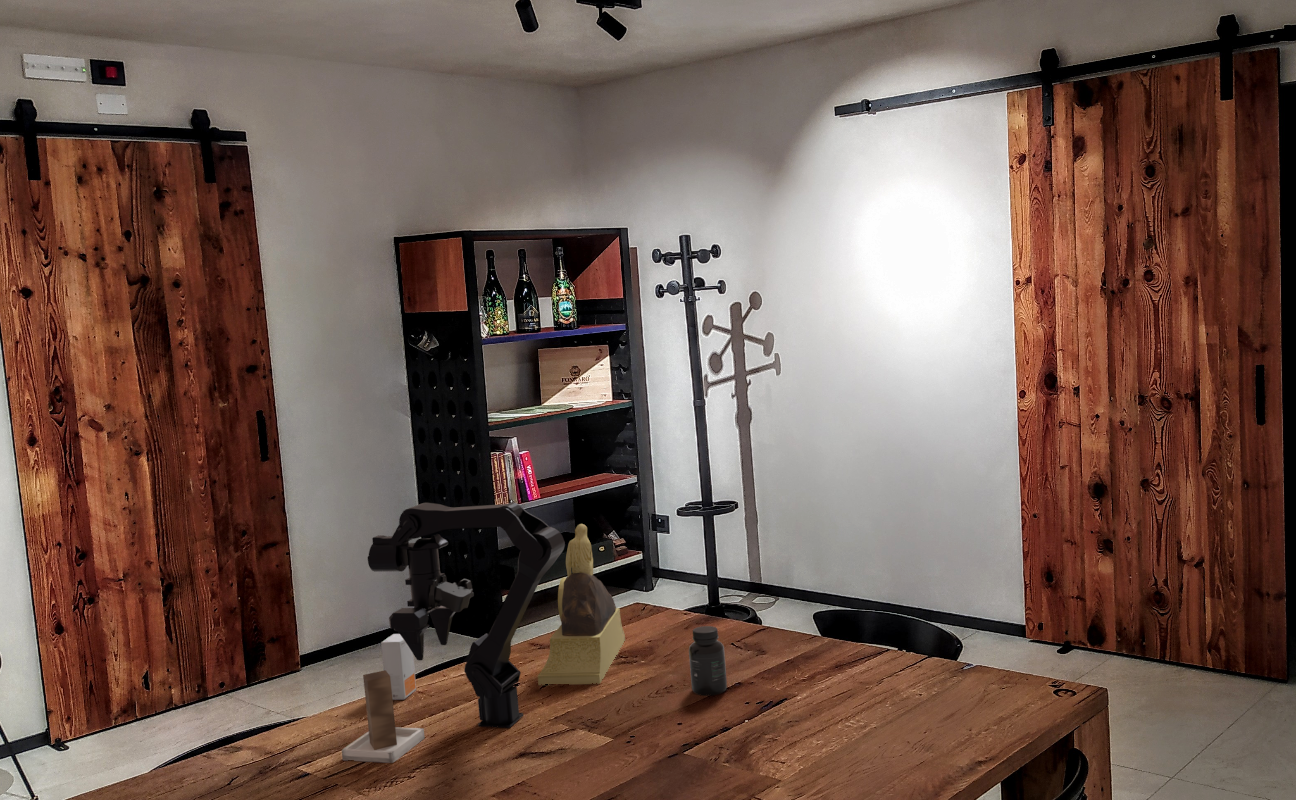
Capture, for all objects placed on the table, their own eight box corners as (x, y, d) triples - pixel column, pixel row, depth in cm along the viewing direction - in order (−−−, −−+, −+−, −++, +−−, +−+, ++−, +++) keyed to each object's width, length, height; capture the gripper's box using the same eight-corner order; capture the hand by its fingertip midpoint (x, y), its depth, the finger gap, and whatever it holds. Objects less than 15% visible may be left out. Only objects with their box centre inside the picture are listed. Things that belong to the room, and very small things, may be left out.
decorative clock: (570, 643, 250) (559, 514, 248) (625, 642, 248) (614, 512, 245) (538, 685, 222) (525, 540, 220) (600, 684, 220) (587, 538, 218)
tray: (424, 738, 198) (423, 728, 197) (392, 762, 187) (391, 752, 187) (376, 735, 201) (375, 726, 201) (342, 760, 190) (341, 750, 190)
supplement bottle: (685, 689, 212) (680, 629, 211) (714, 681, 216) (709, 622, 215) (704, 698, 206) (699, 636, 205) (734, 690, 210) (729, 629, 209)
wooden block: (392, 737, 197) (385, 670, 196) (397, 744, 193) (390, 676, 192) (369, 742, 195) (363, 674, 194) (374, 750, 192) (367, 680, 191)
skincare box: (405, 700, 219) (399, 642, 218) (385, 700, 220) (379, 642, 219) (417, 689, 225) (412, 633, 224) (398, 689, 226) (392, 633, 225)
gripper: (438, 583, 193) (446, 669, 195) (485, 559, 211) (492, 638, 212) (383, 583, 197) (392, 668, 198) (434, 559, 215) (441, 637, 216)
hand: (432, 652), depth 206 cm, fingers open, 9 cm apart
